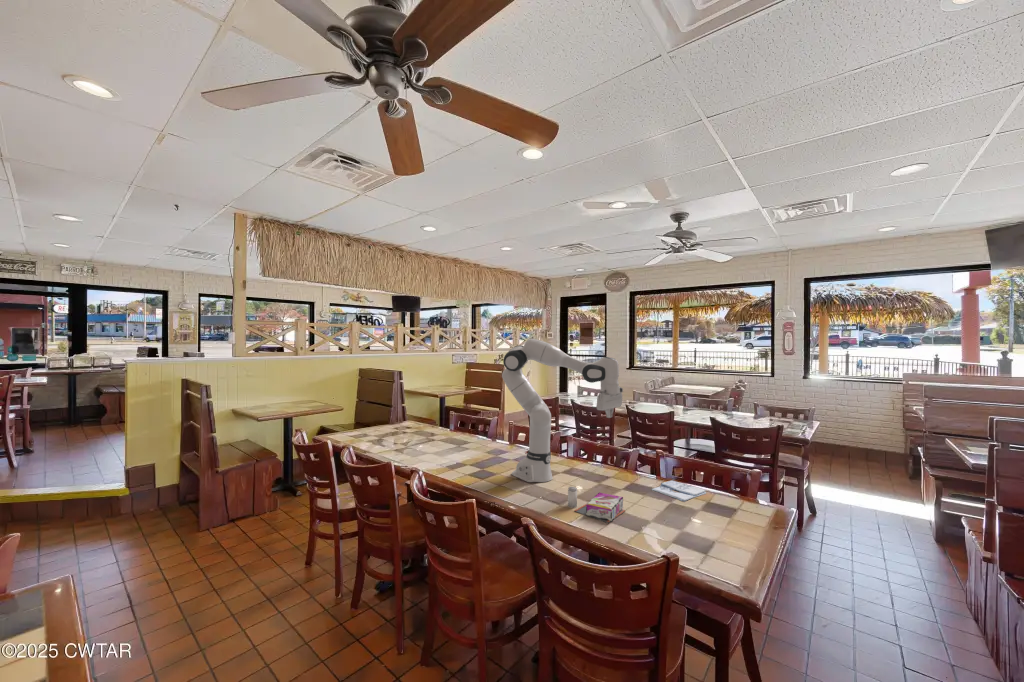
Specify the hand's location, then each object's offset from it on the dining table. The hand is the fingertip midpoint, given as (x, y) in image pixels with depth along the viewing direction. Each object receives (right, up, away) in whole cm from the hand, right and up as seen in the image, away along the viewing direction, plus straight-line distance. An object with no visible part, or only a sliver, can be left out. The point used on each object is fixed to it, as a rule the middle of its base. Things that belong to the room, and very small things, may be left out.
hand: (609, 417), depth 201 cm
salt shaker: (-22, -35, -23) cm, 47 cm away
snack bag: (+33, -37, -3) cm, 49 cm away
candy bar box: (-4, -32, -22) cm, 39 cm away
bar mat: (-11, -35, -28) cm, 46 cm away
